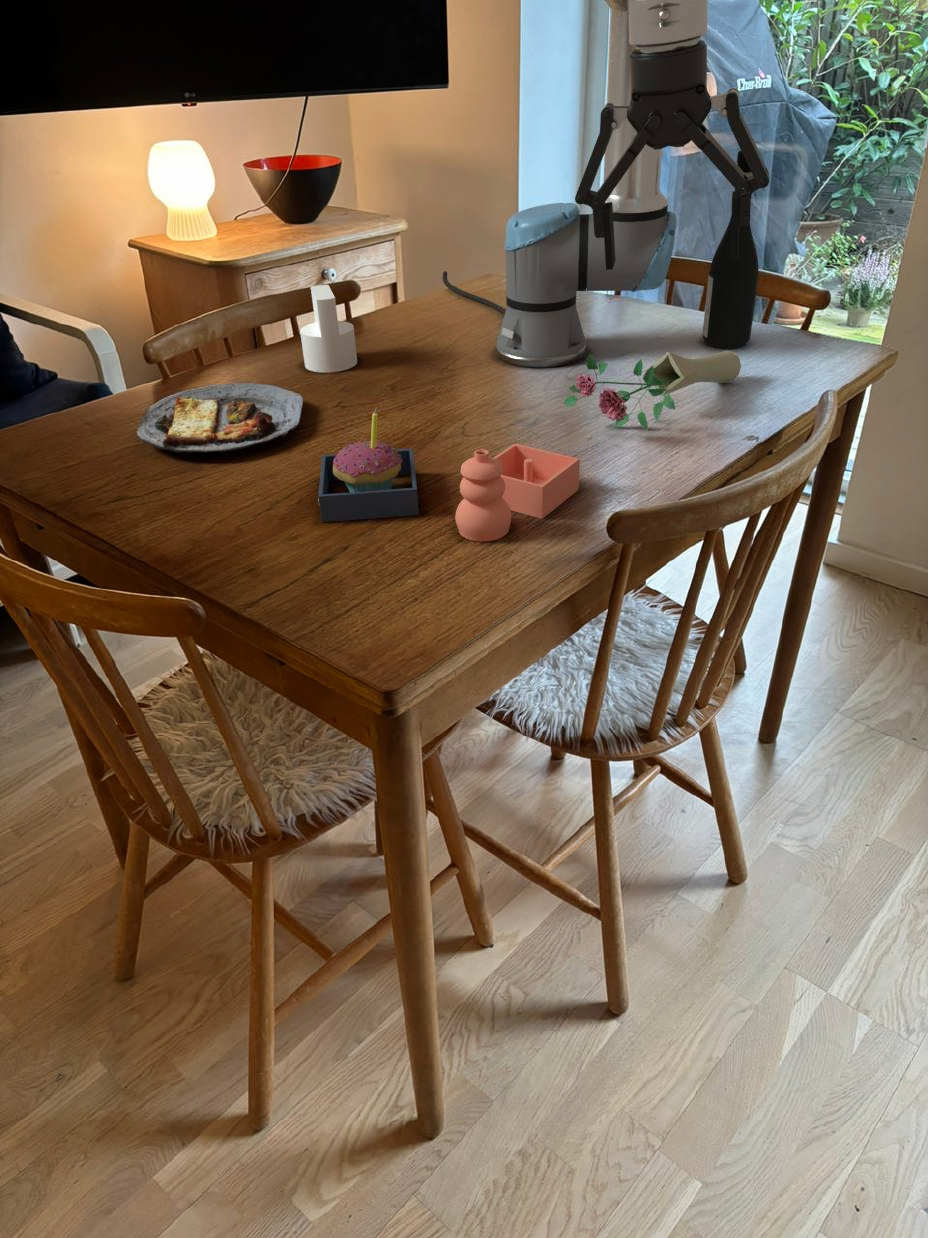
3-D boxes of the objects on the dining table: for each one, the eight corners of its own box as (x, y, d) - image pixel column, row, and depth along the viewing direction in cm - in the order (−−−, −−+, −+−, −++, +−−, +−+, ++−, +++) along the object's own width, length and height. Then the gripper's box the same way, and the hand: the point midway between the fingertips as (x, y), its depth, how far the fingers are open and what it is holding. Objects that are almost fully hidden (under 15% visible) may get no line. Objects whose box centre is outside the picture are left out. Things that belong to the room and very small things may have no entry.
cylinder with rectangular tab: (361, 368, 160) (353, 296, 153) (307, 375, 158) (298, 302, 152) (353, 352, 167) (345, 282, 161) (302, 358, 166) (292, 287, 159)
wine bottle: (693, 344, 163) (712, 152, 147) (715, 332, 168) (736, 145, 152) (736, 353, 159) (760, 156, 142) (757, 340, 164) (783, 148, 147)
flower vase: (730, 435, 150) (609, 464, 125) (670, 395, 155) (543, 415, 130) (768, 367, 143) (649, 383, 118) (705, 328, 148) (577, 335, 123)
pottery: (514, 473, 124) (513, 401, 119) (578, 489, 120) (581, 415, 114) (434, 531, 112) (429, 454, 106) (502, 551, 107) (500, 472, 102)
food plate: (296, 458, 131) (293, 434, 129) (126, 469, 130) (120, 445, 128) (308, 393, 151) (305, 371, 149) (161, 402, 151) (156, 380, 149)
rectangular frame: (324, 479, 125) (321, 454, 123) (414, 472, 125) (412, 448, 123) (321, 522, 115) (317, 496, 113) (419, 515, 115) (417, 489, 114)
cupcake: (414, 485, 122) (407, 396, 115) (388, 515, 116) (379, 423, 109) (353, 478, 125) (343, 390, 118) (325, 507, 118) (312, 416, 111)
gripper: (537, 67, 94) (556, 280, 107) (802, 31, 87) (789, 264, 100) (550, 53, 100) (566, 257, 113) (800, 19, 93) (788, 241, 106)
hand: (671, 261), depth 106 cm, fingers open, 13 cm apart
